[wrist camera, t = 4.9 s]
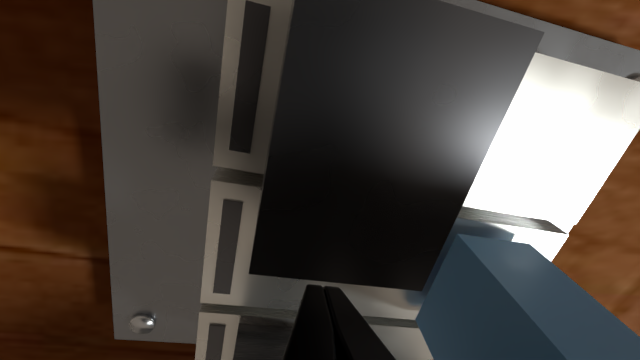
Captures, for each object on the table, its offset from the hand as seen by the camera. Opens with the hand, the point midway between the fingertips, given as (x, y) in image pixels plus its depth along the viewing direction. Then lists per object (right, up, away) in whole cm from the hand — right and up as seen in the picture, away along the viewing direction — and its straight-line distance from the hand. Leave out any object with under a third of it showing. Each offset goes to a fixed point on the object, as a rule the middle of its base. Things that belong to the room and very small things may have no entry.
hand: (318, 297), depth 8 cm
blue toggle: (+5, 0, +2) cm, 5 cm away
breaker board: (+2, +2, +6) cm, 7 cm away
